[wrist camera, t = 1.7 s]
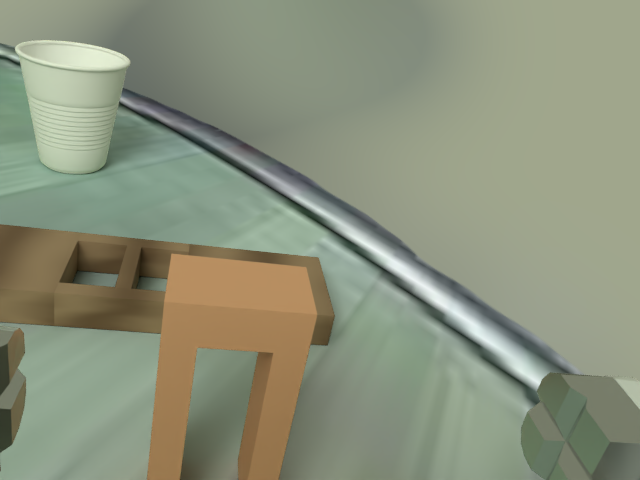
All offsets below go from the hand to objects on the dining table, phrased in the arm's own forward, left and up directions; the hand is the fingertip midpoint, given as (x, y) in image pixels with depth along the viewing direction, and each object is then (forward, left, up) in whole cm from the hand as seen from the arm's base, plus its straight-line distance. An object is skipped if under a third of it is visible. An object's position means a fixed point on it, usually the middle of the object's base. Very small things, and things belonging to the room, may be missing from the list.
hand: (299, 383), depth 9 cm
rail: (-13, +27, -19) cm, 35 cm away
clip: (-3, +13, -19) cm, 23 cm away
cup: (-27, +47, -19) cm, 58 cm away
